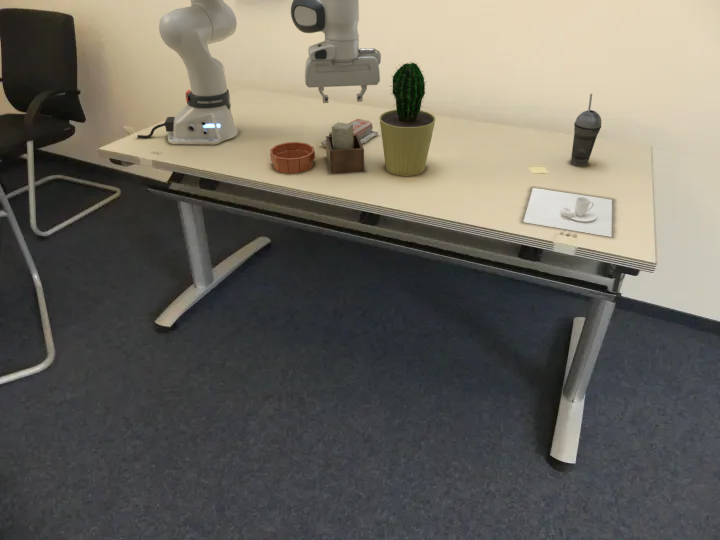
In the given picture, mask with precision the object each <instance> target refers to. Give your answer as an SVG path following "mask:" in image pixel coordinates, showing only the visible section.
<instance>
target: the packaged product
mask: <svg viewBox="0 0 720 540" xmlns="http://www.w3.org/2000/svg"><path fill="white" fill-rule="evenodd" d="M347 124H353V135H356V134H358V136H359V138H360V141H361V143H362V145H364V144H366V143H368V141H369V140H370V139H372V138H373V137H376V136H378V135H379V132H378V131H376V130H375V131H374V130H373V123H372V122H371V120H366V119H361V118H356V119H354V120H352V121H350V122H347ZM328 136H332V131H330V132H329V133H328ZM320 143H321V147H324V148H326V139H324V140H322V141H321V142H320Z"/></svg>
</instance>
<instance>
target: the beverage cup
mask: <svg viewBox="0 0 720 540" xmlns="http://www.w3.org/2000/svg"><path fill="white" fill-rule="evenodd" d="M592 99H593V93H590V94H589V101H588V109H587V110H584V111H582V112H580V113H579V115H578V116H577V117H576V119H575V121H574V124H573V125H574V126H573V127H574V129H573V130H574V131H573V132H574V133H573V142H572V149H571V155H570V156H571V157H570V158H571V159H570V164H571V165H573V166H575V167H586V166H587V165H588V163H589V161H590V158H591V154H592V152H593V149H594V146H595V143H596V140H597V138H598V135H599V133H600V131H601V128H602V118H601V116H600V114H599V113H598V112H597V111H596V110H593V109H591V107H592Z"/></svg>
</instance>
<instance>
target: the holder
mask: <svg viewBox="0 0 720 540" xmlns="http://www.w3.org/2000/svg"><path fill="white" fill-rule="evenodd" d="M353 136H354V149H342V150H333V143H332V136H329V135H326V136H325V140H326V147H325V150H326V151H325V152H326V160H327V161H326V162H327V164H328V168H329V172H330V174H331V175H334V174H347V173H349V174H350V173H363V172H365V147H364V146H363V144H362V143H361V141H360V138H359V136H358V134H356V135H353Z"/></svg>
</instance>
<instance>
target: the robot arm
mask: <svg viewBox="0 0 720 540" xmlns="http://www.w3.org/2000/svg"><path fill="white" fill-rule="evenodd" d="M190 4H191V5H190V6H185V7H180V8H175V9H173V10H171V11H169V12H167V13H165V14H163V15H162V16H161V17H160V19H159V24H158V31H159V35H160V38H161V39H162V41H163V43H164V44H165V45H167V47H168V48H169V49H171V50H173V51H174V52H176V54H177V55H178V56H179V57H180V58H181V61H182V62H183V64H184V66H185V69H186V71H187V77H188V80H189V81H188V82H189V86H190V89H187V90H186V91H185V101H186V104H185V106H184V107H183V108H182V109H181V110H180V111H178V113H177V114H176V115H174V116H167V117H166V119H165V121H164V122H163V123H160V124H157V125H155V126H153V128H151V130H150V132H149V134H146V135H145V134H143V135H142V134H137V138H139V139H148V138H152V136H153V135H154V132H156V130H158V129H159V128H162V127H164V128H165V131H166V132H167V141H168V143H170V144H171V145H206V146H207V145H209V146H210V145H213V146H215V145H218V144H221V143H223V142H225V141H227V140H230V139H233V138H235V137H236V136H238V134H239V130H238V128H237V126H236V123H235V121H234V120H235V119H234V117H233V113H232V109H231V108H232V101H231V94H230V91H229V88H228V86H227V80H226V79H227V77H226V71H225V66H224V64H223V63H222V62H221V61H220V60H218V59H217V58H215V57H213V56H212V55H211V53H210V50H209V49H210V48H209V45H211V44H215V43H220V42H223V41H224V40H226V39H228V38H230V37H231V36H233V35H234V34H235V32H236V31H237V27H238V26H237V17H236V14H235V12H234V10H233V9H232V8H231V6H230V5H228V4H227V3H226V2H225V1H224V0H190ZM290 17H291V20H292V23H293V25H294V26H295V27H296V29H297V30H298V31H299V32H302V33H304V34H315V33H318V32H319V33H324V40H323V41H320V42H318V43H315V44H312V45H310V46H309V47H308V50H307V52H308V53H307V54H308V57H307V58H306V61H305V64H304V65H305V66H304V84H305V86H306V87H307V88H317V90H318V92H319V94H320V95H321V97H322V103H323V104H329V95H328V94H325V93H324V91H325V88H333V87H334V88H335V87H360V88H361V89H360V91H359V93H356V102H357V103H359V102H360V103H362V102H363V97H364V95H365V93H366V91H367V89H368V86H377V85H378V84H379V83H380V82H381V71H380V64H381V61H382V54H381V52H380V50H378V49H376V48H373V47H371V48H360V34H359V30H358V25H359V21H360V3H359V0H292V2H291V6H290Z"/></svg>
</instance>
